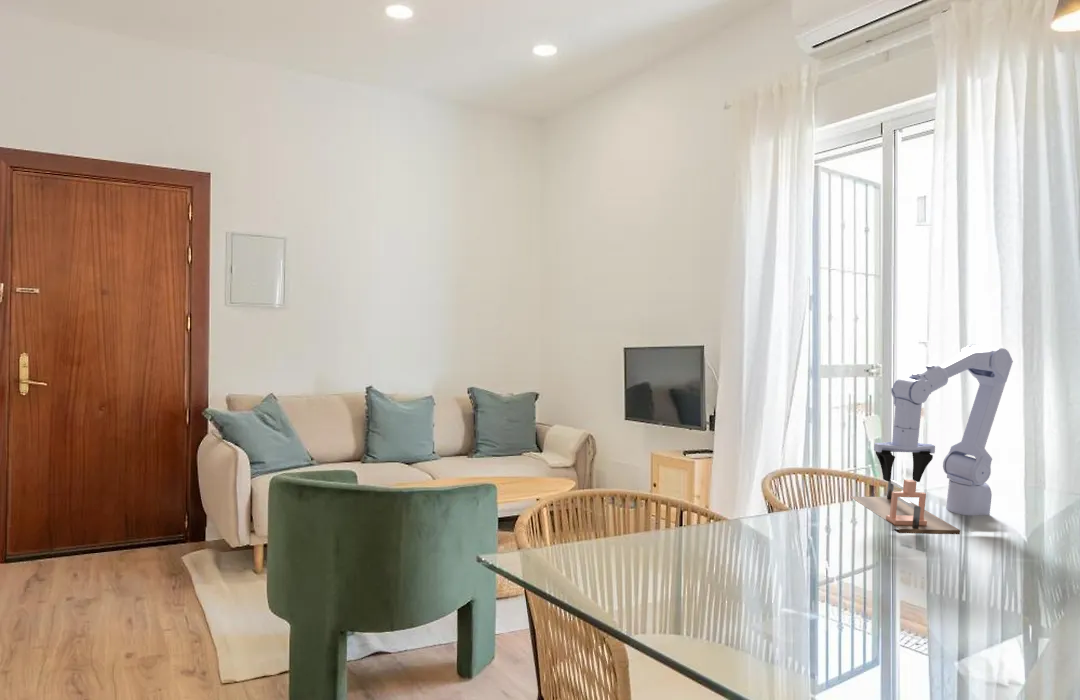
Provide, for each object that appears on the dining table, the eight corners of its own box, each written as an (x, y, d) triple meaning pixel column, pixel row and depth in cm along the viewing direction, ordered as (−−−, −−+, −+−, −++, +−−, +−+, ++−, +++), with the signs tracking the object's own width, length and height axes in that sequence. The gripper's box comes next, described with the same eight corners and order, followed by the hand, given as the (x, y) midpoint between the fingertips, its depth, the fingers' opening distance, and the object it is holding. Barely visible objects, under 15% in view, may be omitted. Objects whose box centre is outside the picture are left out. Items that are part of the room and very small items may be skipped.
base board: (903, 501, 203) (903, 497, 203) (959, 534, 178) (960, 530, 178) (849, 500, 202) (850, 496, 202) (898, 533, 177) (899, 529, 177)
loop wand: (917, 519, 185) (921, 478, 183) (926, 525, 181) (930, 483, 179) (886, 518, 184) (889, 477, 183) (894, 524, 180) (898, 482, 179)
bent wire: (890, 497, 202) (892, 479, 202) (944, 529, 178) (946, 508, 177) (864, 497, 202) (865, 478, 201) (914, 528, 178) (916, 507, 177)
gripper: (925, 424, 188) (920, 476, 190) (869, 422, 187) (865, 475, 189) (942, 430, 181) (936, 484, 183) (884, 428, 180) (879, 483, 182)
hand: (901, 480), depth 185 cm, fingers open, 7 cm apart
